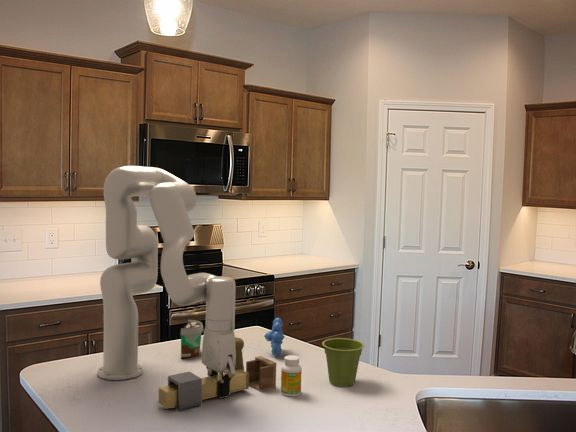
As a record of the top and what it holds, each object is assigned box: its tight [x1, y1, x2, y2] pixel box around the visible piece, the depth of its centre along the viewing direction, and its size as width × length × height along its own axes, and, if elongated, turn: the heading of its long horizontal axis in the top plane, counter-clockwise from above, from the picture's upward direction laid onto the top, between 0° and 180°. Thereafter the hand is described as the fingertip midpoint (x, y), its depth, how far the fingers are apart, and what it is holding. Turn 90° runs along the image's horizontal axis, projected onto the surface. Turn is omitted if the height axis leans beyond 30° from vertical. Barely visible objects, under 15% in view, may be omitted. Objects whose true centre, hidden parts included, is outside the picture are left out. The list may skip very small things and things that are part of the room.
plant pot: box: [321, 337, 365, 388], centre depth 160 cm, size 12×12×11 cm
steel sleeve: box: [167, 371, 203, 413], centre depth 141 cm, size 6×6×7 cm
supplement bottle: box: [280, 354, 303, 398], centre depth 151 cm, size 5×5×10 cm
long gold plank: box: [158, 369, 250, 409], centre depth 145 cm, size 4×24×4 cm, turn 129°
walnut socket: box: [245, 355, 277, 392], centre depth 156 cm, size 7×5×7 cm
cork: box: [224, 336, 245, 373], centre depth 163 cm, size 6×6×11 cm
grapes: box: [263, 316, 285, 357], centre depth 185 cm, size 12×7×12 cm, turn 176°
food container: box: [180, 319, 205, 360], centre depth 182 cm, size 12×6×10 cm, turn 179°
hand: (218, 393), depth 148 cm, fingers closed on long gold plank, 4 cm apart
